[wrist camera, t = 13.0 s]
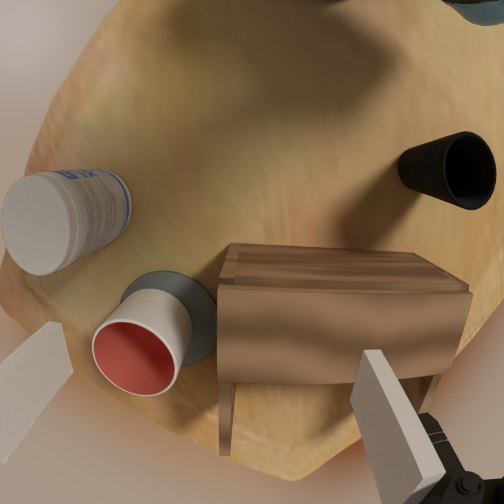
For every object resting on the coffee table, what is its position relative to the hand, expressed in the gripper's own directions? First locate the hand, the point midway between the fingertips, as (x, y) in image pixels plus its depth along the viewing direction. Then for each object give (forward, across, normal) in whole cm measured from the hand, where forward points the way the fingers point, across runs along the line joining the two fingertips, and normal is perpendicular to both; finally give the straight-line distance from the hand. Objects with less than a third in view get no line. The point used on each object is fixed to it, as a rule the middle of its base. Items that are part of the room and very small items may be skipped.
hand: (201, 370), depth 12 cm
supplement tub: (+26, -18, +3) cm, 32 cm away
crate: (+26, +11, -12) cm, 31 cm away
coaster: (+26, -9, -12) cm, 30 cm away
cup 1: (+26, -10, -12) cm, 30 cm away
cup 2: (+27, +22, +10) cm, 36 cm away
